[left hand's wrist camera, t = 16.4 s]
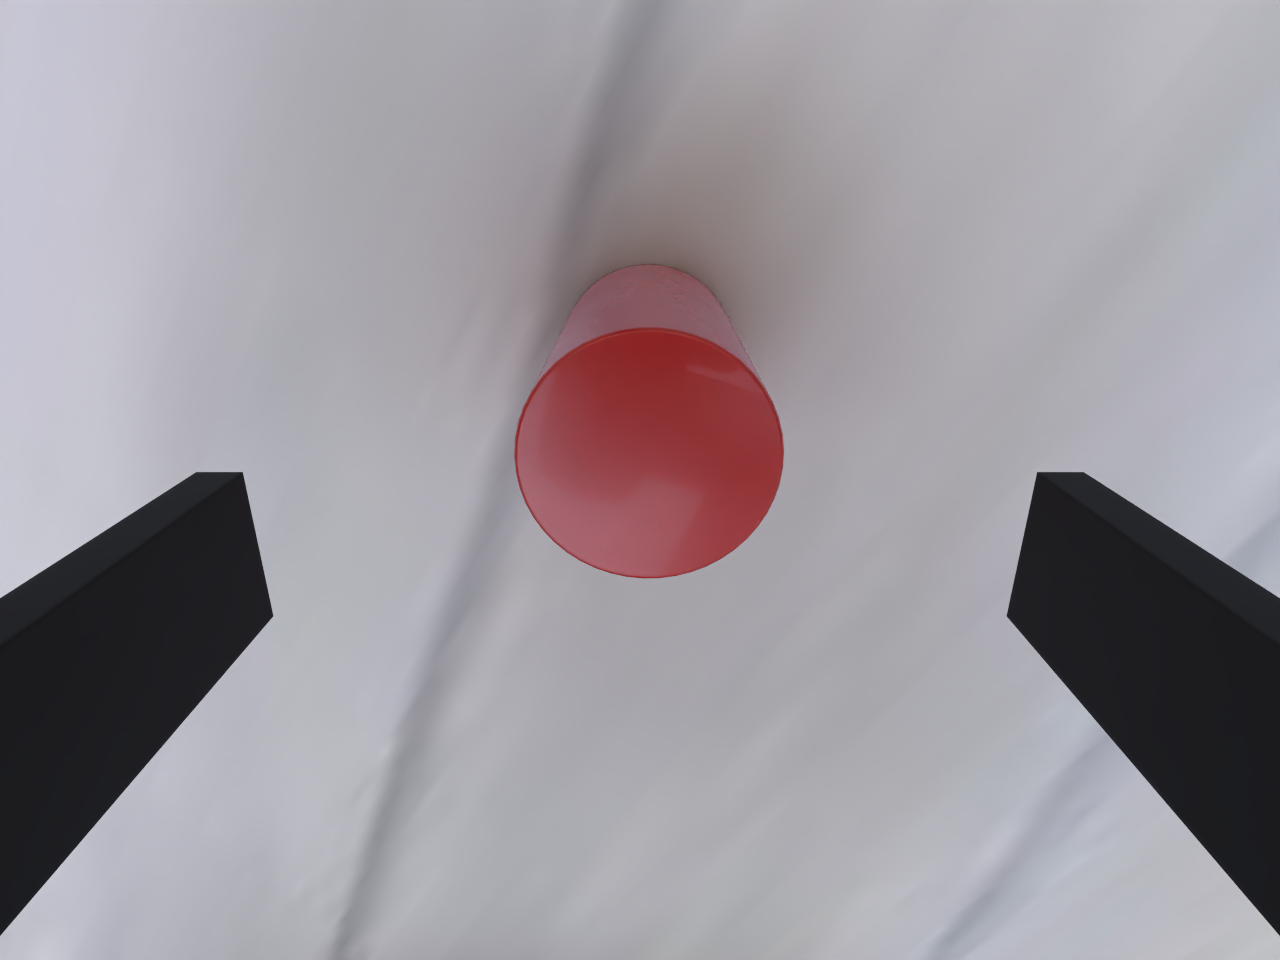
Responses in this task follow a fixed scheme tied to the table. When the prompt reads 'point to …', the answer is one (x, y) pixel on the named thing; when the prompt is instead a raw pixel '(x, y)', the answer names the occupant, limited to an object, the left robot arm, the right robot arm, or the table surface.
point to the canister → (648, 430)
